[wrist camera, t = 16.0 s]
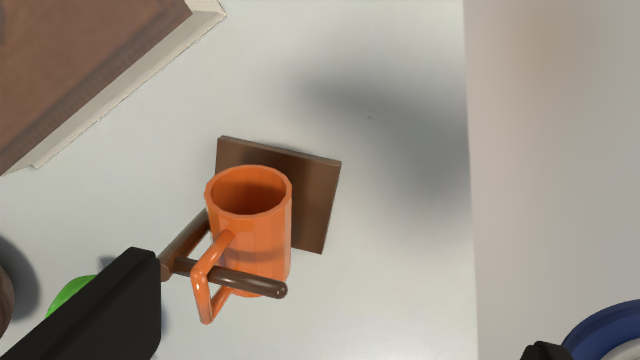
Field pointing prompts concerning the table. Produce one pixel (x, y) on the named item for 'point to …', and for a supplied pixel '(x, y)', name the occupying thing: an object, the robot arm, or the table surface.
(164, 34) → the book
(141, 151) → the table surface
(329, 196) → the mug stand
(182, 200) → the table surface
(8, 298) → the wooden sphere
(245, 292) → the mug
